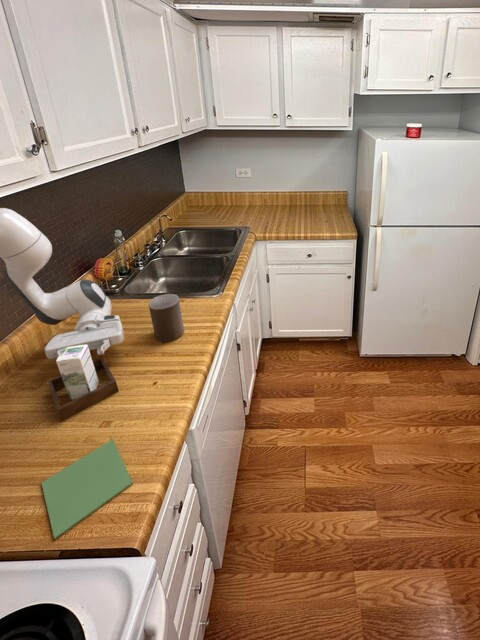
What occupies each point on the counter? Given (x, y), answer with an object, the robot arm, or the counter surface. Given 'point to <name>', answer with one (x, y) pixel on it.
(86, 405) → the frame
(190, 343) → the counter surface
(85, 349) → the syrup box
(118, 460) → the green mat
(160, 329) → the pillar candle
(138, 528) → the counter surface
